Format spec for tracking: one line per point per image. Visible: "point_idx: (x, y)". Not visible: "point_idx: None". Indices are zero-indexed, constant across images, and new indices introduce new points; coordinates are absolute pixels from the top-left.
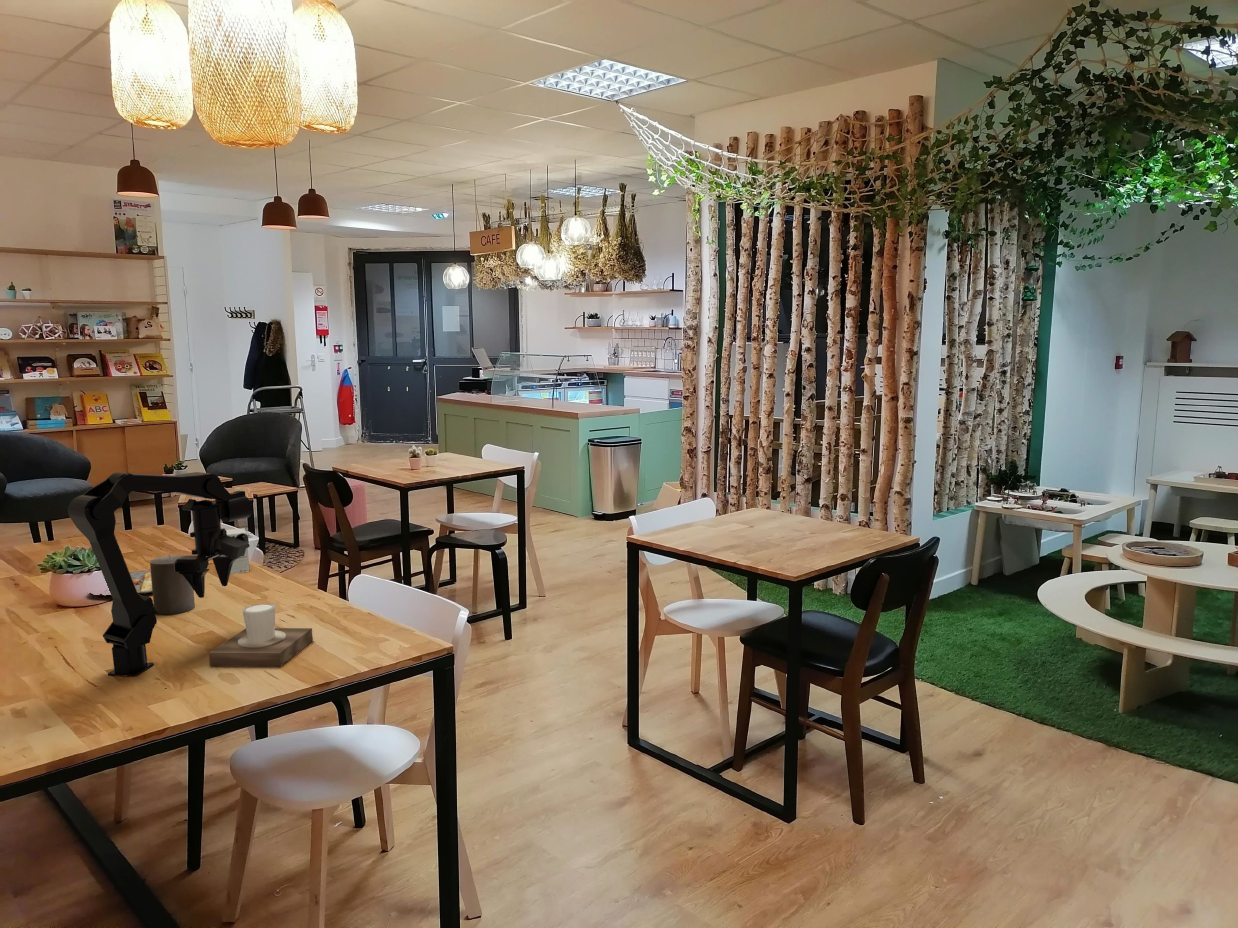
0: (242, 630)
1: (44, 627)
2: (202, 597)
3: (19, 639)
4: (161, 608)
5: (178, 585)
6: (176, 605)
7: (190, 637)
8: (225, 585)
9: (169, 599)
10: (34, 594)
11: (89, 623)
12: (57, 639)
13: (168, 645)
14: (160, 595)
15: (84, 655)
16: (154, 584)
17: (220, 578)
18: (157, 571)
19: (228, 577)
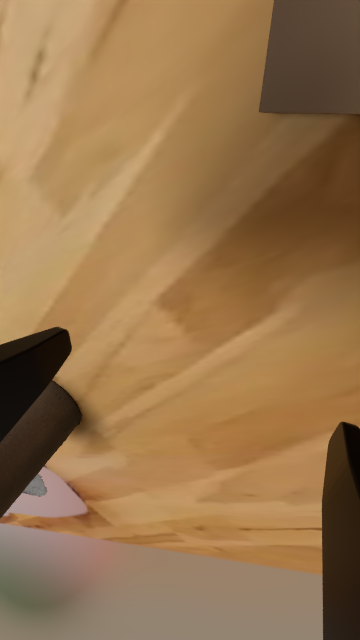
0: (302, 112)
1: (154, 527)
2: (356, 428)
3: (203, 550)
4: (71, 425)
5: (16, 439)
6: (57, 408)
7: (212, 341)
8: (66, 334)
9: (53, 429)
10: (55, 520)
11: (134, 492)
12: (207, 524)
13: (276, 379)
14: (52, 449)
15: (311, 507)
16: (34, 477)
17: (35, 391)
18: (7, 504)
19: (4, 348)
